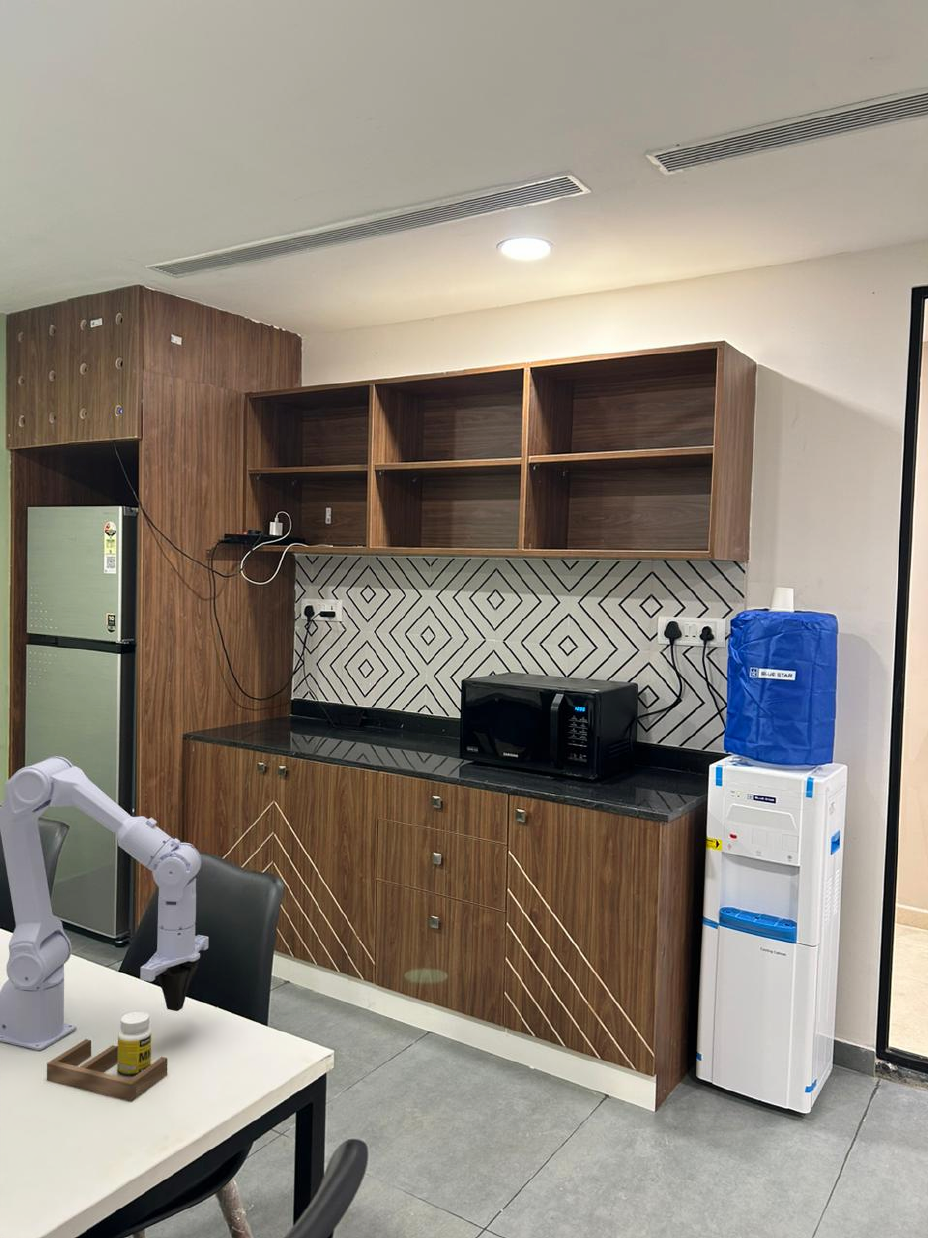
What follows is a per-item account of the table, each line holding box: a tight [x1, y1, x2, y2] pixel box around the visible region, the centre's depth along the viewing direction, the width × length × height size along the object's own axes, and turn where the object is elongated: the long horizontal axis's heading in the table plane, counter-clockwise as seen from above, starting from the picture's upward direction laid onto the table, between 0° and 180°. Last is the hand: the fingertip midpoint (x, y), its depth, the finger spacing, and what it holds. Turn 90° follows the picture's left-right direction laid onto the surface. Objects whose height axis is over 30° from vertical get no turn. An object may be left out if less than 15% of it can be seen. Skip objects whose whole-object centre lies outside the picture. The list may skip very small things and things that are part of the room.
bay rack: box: [46, 1038, 168, 1103], centre depth 140 cm, size 15×8×2 cm, turn 70°
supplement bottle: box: [116, 1011, 152, 1079], centre depth 142 cm, size 5×5×8 cm
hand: (174, 1008), depth 151 cm, fingers closed
